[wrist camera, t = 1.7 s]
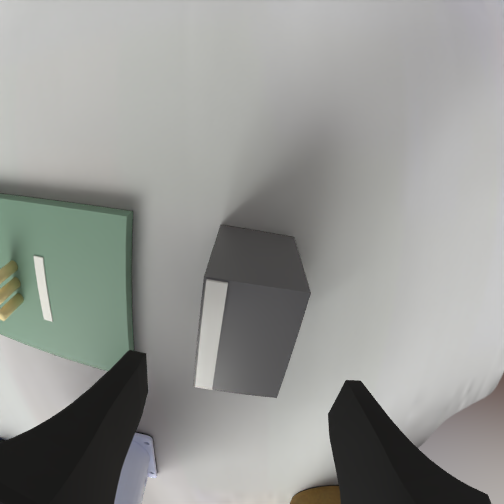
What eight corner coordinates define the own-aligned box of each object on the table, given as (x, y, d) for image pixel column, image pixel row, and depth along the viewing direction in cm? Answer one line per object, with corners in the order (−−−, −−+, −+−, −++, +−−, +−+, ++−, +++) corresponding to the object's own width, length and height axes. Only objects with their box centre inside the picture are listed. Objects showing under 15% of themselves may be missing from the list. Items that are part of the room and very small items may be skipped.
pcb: (135, 368, 22) (121, 401, 18) (-29, 312, 21) (-50, 332, 17) (133, 211, 17) (107, 232, 14) (-52, 187, 16) (-81, 200, 13)
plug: (272, 326, 20) (276, 399, 14) (208, 316, 20) (192, 388, 14) (293, 237, 17) (311, 294, 12) (220, 224, 17) (203, 277, 12)
